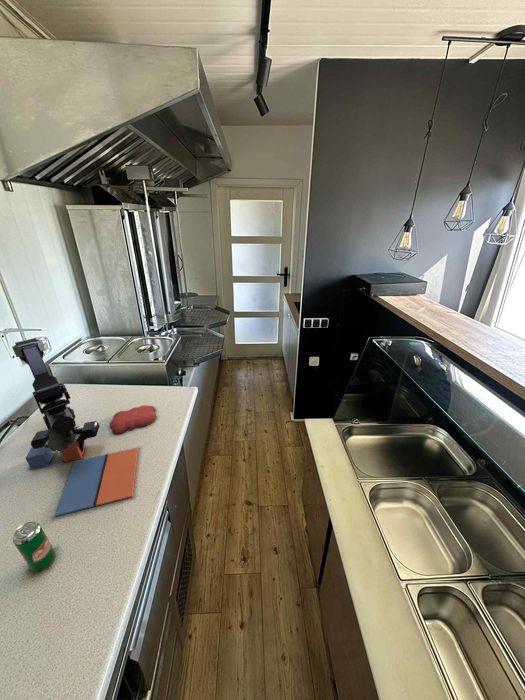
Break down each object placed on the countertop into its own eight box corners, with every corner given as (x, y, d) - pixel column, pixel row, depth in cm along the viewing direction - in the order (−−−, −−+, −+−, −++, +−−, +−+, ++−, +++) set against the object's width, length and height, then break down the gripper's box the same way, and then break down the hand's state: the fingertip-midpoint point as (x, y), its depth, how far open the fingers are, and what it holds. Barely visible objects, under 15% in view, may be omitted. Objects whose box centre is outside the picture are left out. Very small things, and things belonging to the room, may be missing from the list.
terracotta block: (69, 451, 102) (64, 440, 99) (84, 448, 103) (80, 437, 101) (65, 461, 97) (60, 451, 95) (81, 458, 99) (76, 447, 96)
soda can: (43, 574, 67) (23, 544, 62) (25, 570, 68) (4, 539, 63) (61, 552, 71) (44, 521, 66) (44, 548, 72) (26, 517, 67)
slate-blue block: (36, 458, 99) (31, 447, 97) (53, 454, 100) (48, 444, 98) (30, 469, 95) (25, 458, 93) (48, 465, 96) (42, 454, 94)
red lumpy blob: (110, 437, 108) (109, 433, 107) (110, 416, 119) (108, 412, 118) (158, 422, 115) (157, 418, 114) (153, 404, 126) (153, 400, 125)
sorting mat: (75, 462, 97) (74, 461, 97) (138, 449, 102) (137, 447, 102) (55, 516, 80) (54, 515, 79) (132, 497, 85) (131, 495, 84)
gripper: (14, 440, 83) (34, 478, 90) (85, 427, 88) (99, 463, 95) (30, 417, 93) (46, 452, 100) (93, 406, 98) (105, 440, 105)
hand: (74, 452), depth 100 cm, fingers closed on terracotta block, 5 cm apart
